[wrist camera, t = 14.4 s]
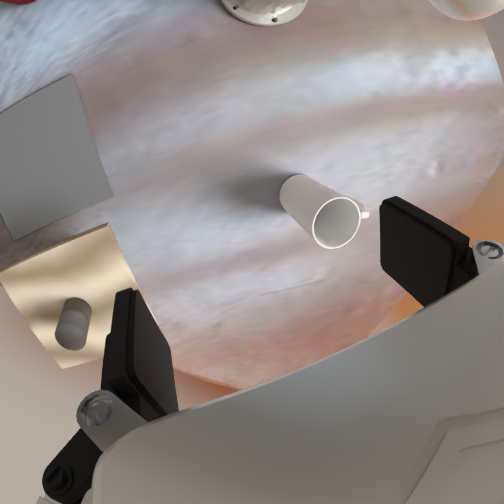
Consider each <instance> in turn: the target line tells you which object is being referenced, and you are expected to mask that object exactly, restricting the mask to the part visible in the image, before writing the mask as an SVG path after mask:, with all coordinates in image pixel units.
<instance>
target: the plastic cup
mask: <svg viewBox="0 0 504 504" xmlns="http://www.w3.org/2000/svg"><path fill="white" fill-rule="evenodd" d="M0 1H2V2H7V3H16V4H29V3H32V2H34V1H36V0H0Z"/></svg>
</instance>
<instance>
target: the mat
mask: <svg viewBox="0 0 504 504" xmlns="http://www.w3.org/2000/svg"><path fill="white" fill-rule="evenodd" d="M112 196H113V193H112V190H111V187H110V185H109V182H108V180H107V177H106V174H105V172H104V169H103V166H102V163H101V161H100V158H99V155H98V152H97V149H96V146H95V144H94V141H93V138H92V135H91V132H90V129H89V125H88V122H87V119H86V116H85V113H84V110H83V106H82V103H81V100H80V96H79V93H78V89H77V86H76V82H75V78H74V75H73V74H71V75H69V76H67V77H65V78H63V79H61V80H59V81H57V82H55V83H53V84H51V85H49V86H47V87H45V88H43V89H41V90H39V91H38V92H36V93H34V94H32V95H30V96H29V97H27V98H25V99H23V100H22V101H20V102H18V103H17V104H15V105H13V106H12V107H10V108H9V109H7V110H5V111H4V112H2V113H1V114H0V213H1V216H2V218H3V220H4V222H5V224H6V226H7V228H8V231H9V233H10V235H11V237H12V239H13V241H15V240H17V239H19V238H21V237H23V236H25V235H27V234H29V233H31V232H33V231H35V230H37V229H39V228H42V227H44V226H46V225H48V224H50V223H52V222H54V221H56V220H59V219H61V218H63V217H65V216H67V215H70V214H72V213H74V212H77V211H79V210H81V209H83V208H86V207H88V206H90V205H93V204H95V203H98V202H100V201H102V200H105V199H107V198H110V197H112Z"/></svg>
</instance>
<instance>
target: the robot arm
mask: <svg viewBox="0 0 504 504" xmlns="http://www.w3.org/2000/svg"><path fill="white" fill-rule="evenodd" d="M427 1H428V2H429V3H430V4H432V5H433V6H434V7H435V8H436V9H438V10H439V11H440V12H442V13H443V14H445V15H447V16H449V17H451V18H455V19H458V20H477V19H481V18H484V17H487V16H490V15H492V14H494V13H496V12H498V11H500V10H502V9H503V8H504V0H427ZM221 2H222V4H223V5H224V6H225V8H226V9H227V10H228V11H229V12H230V13H231V14H233V15H234V16H235V17H237V18H239V19H240V20H242V21H244V22H247V23H249V24H253V25H257V26H266V27H269V26H277V25H281V24H284V23H287V22H289V21H291V20H292V19H294V18H296V17H297V16H298V15H299V14H300V13H301V12H302V10H303V9H304V8H305V5H306V3H307V0H221ZM233 7H235V8H236V10H234V9H233ZM272 20H274V22H272ZM379 211H380V262H381V266H382V269H383V270H384V271H385V272H386V273H387V274H388V275H389V276H391V277H392V278H393V279H394V280H395V281H396V282H397V283H398V284H400V285H401V286H402V287H403V288H404V289H405V290H406V291H407V292H408V293H410V294H411V295H412V296H413V297H414V298H415V299H416V300H417V301H418V302H419V303H420V304H421V305H423V306H424V308H423V309H421V310H419V311H417V312H415V313H414V314H412V315H410V316H408V317H406V318H404V319H403V320H401V321H399V322H397V323H395V324H393V325H391V326H389V327H387V328H385V329H383V330H381V331H379V332H377V333H375V334H373V335H371V336H369V337H367V338H365V339H363V340H361V341H359V342H357V343H355V344H353V345H350V346H348V347H346V348H344V349H342V350H340V351H337V352H335V353H333V354H331V355H328V356H326V357H324V358H322V359H319V360H317V361H315V362H312V363H310V364H308V365H305V366H303V367H301V368H298V369H296V370H293V371H291V372H288V373H286V374H283V375H281V376H278V377H276V378H273V379H270V380H268V381H265V382H262V383H260V384H257V385H254V386H252V387H249V388H246V389H243V390H240V391H237V392H235V393H232V394H229V395H226V396H223V397H221V398H218V399H214V400H211V401H208V402H205V403H202V404H199V405H196V406H193V407H190V408H187V409H184V410H181V411H179V409H178V402H177V396H176V389H175V382H174V375H173V366H172V358H171V350H170V347H169V344H168V342H167V340H166V339H165V337H164V335H163V334H162V332H161V330H160V328H159V326H158V325H157V323H156V321H155V319H154V317H153V316H152V314H151V312H150V310H149V308H148V306H147V305H146V303H145V301H144V299H143V297H142V295H141V293H140V291H139V290H138V289H137V290H133V289H132V288H131V287H130V288H127V289H124V290H121V291H118V292H116V295H115V301H114V308H113V315H112V323H111V331H110V333H109V334H108V335H107V336H106V340H105V348H104V359H103V367H102V379H101V390H98V391H95V392H92V393H90V394H89V395H88V396H86V397H85V398H84V399H83V400H82V402H81V403H80V405H79V407H78V409H77V414H76V417H77V422H78V424H79V426H80V427H81V428H80V429H79V431H78V432H77V433H76V434H75V435H74V436H73V437H72V439H71V440H70V441H69V442H68V443H67V444H66V446H65V447H64V448H63V449H62V450H61V451H60V452H59V453H58V455H57V456H56V457H55V458H54V459H53V460H52V461H51V463H50V464H49V465H48V466H47V468H46V469H45V471H44V474H43V479H42V484H43V488H44V491H45V493H46V494H45V496H44V498H43V497H41V496H40V497H39V499H38V501H37V503H36V504H504V246H503V245H501V244H500V243H498V242H496V241H493V240H489V239H481V240H477V241H476V242H474V244H473V246H472V248H471V247H469V240H470V238H469V237H467V236H466V235H464V234H462V233H461V232H459V231H458V230H456V229H455V228H453V227H451V226H450V225H448V224H446V223H444V222H443V221H441V220H439V219H438V218H436V217H434V216H432V215H431V214H429V213H427V212H425V211H423V210H422V209H420V208H418V207H416V206H414V205H412V204H411V203H409V202H407V201H405V200H403V199H401V198H399V197H397V196H394V197H391V198H388V199H385V200H383V201H382V205H380V209H379Z"/></svg>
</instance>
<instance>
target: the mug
mask: <svg viewBox="0 0 504 504" xmlns="http://www.w3.org/2000/svg"><path fill="white" fill-rule="evenodd" d="M279 199H280V203H281V205H282V207H283V208H284V209H285V210H286V211H287V212H288V213H289V215H290V216H291V217H292V218H293V219H294V220H295V221H296V222H297V223H298V224H299V225H300V226H301V227H302V228H303V229H304V230H305V231H306V232H307V233H308V234H309V235H310V236H311V237H312V238H313V239H314V240H315V241H316V242H317V243H318V244H319V245H320V246H322V247H324V248H328V249H334V248H338V247H341V246H343V245H345V244H346V243H348V242H349V241H350V240H351V239H352V238H353V237H354V235H355V234H356V232H357V230H358V228H359V225H360V219H361V218H368V217H369V211H367V209H366V207H365V206H364V205H363V204H362V203H360V202H359V201H357V200H355V199H353V198H350V197H348V196H345V195H343V194H341V193H339V192H337V191H335V190H334V189H332V188H330V187H328V186H326V185H324V184H322V183H320V182H319V181H317V180H315V179H312V178H310V177H308V176H306V175H294V176H292V177H290V178H288V179H287V180H286V181H285V182H284V184H283V185H282V187H281V189H280V194H279Z"/></svg>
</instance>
